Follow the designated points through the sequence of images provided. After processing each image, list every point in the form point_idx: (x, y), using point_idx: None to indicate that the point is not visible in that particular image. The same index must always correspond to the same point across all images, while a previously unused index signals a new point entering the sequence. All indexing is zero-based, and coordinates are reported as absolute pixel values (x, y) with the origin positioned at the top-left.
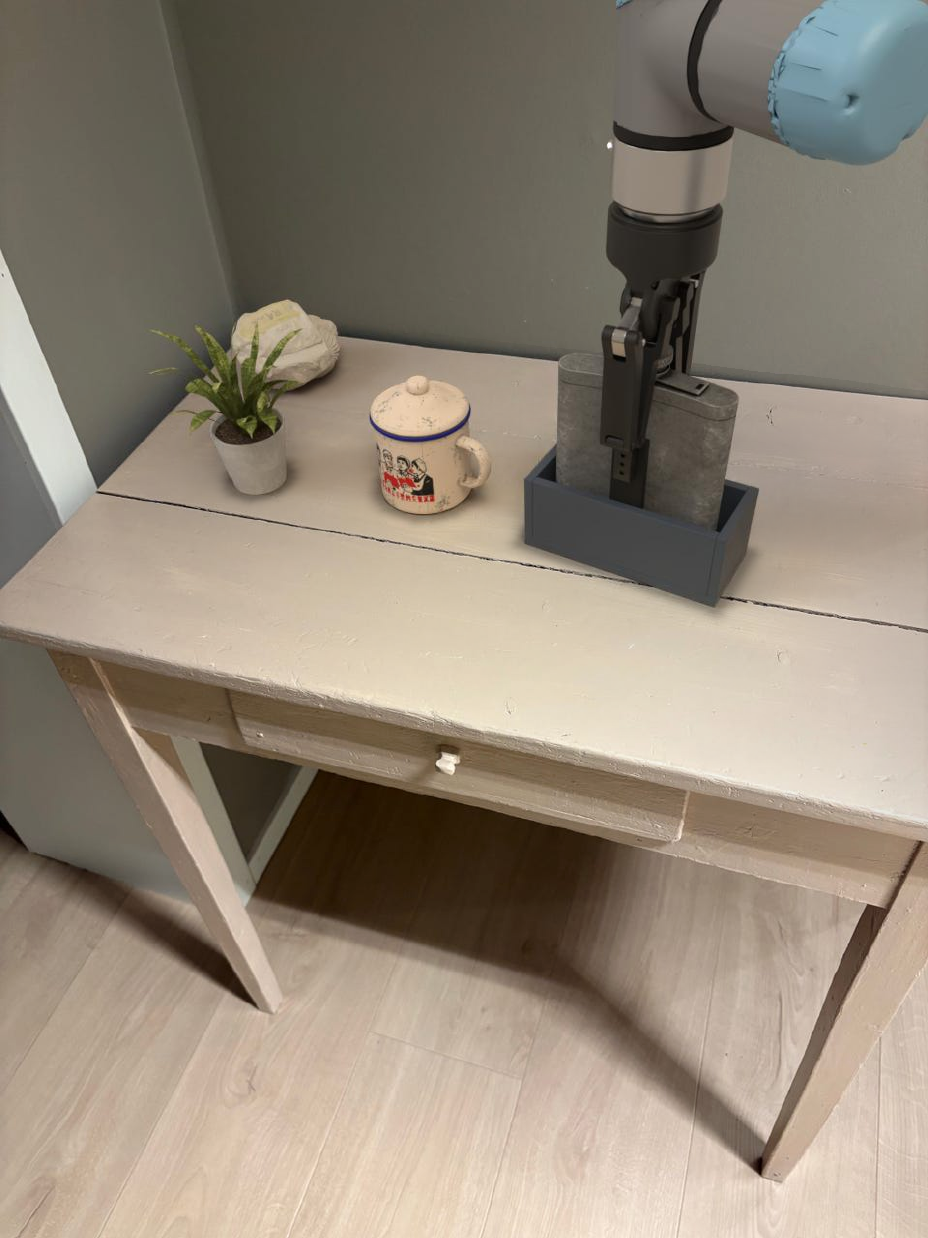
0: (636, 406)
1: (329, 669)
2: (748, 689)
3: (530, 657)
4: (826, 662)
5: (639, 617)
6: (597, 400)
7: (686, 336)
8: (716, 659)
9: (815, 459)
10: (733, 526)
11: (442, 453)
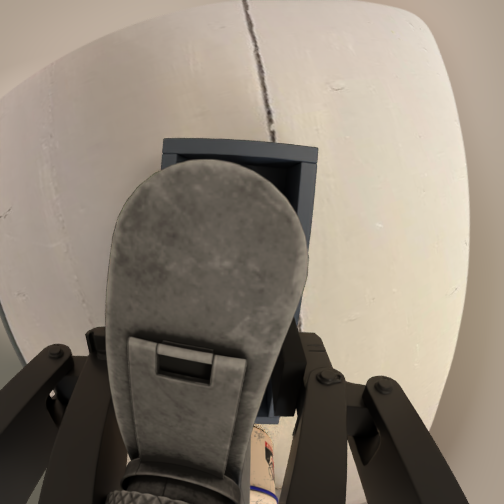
0: (422, 461)
1: (430, 398)
2: (387, 110)
3: (411, 301)
4: (324, 51)
5: (340, 230)
6: (243, 474)
7: (11, 434)
8: (366, 142)
9: (35, 151)
10: (278, 145)
11: (257, 473)
